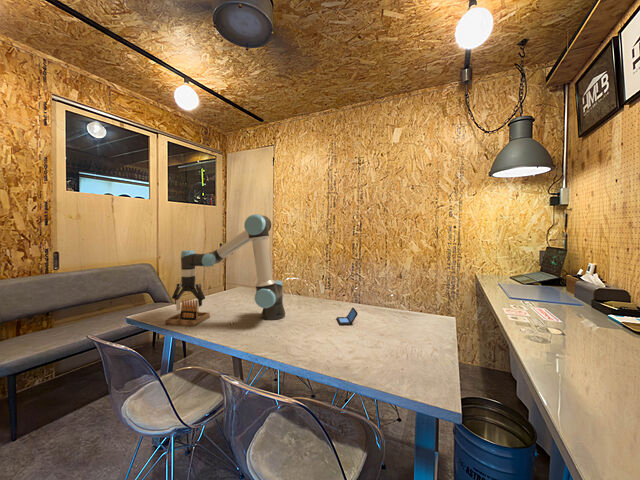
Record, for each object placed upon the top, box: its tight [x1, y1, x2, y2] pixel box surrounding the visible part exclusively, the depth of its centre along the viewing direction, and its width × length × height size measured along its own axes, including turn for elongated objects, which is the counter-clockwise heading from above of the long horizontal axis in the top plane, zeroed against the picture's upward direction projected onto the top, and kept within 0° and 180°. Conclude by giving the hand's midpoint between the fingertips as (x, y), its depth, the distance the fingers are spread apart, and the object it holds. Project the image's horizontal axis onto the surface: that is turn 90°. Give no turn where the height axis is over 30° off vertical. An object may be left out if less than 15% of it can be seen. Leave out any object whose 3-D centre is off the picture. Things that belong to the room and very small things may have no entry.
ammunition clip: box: [180, 298, 198, 320], centre depth 157 cm, size 11×2×12 cm, turn 82°
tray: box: [165, 311, 211, 327], centre depth 157 cm, size 18×16×3 cm
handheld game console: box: [336, 307, 358, 327], centre depth 157 cm, size 12×11×7 cm
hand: (188, 310), depth 156 cm, fingers open, 13 cm apart
